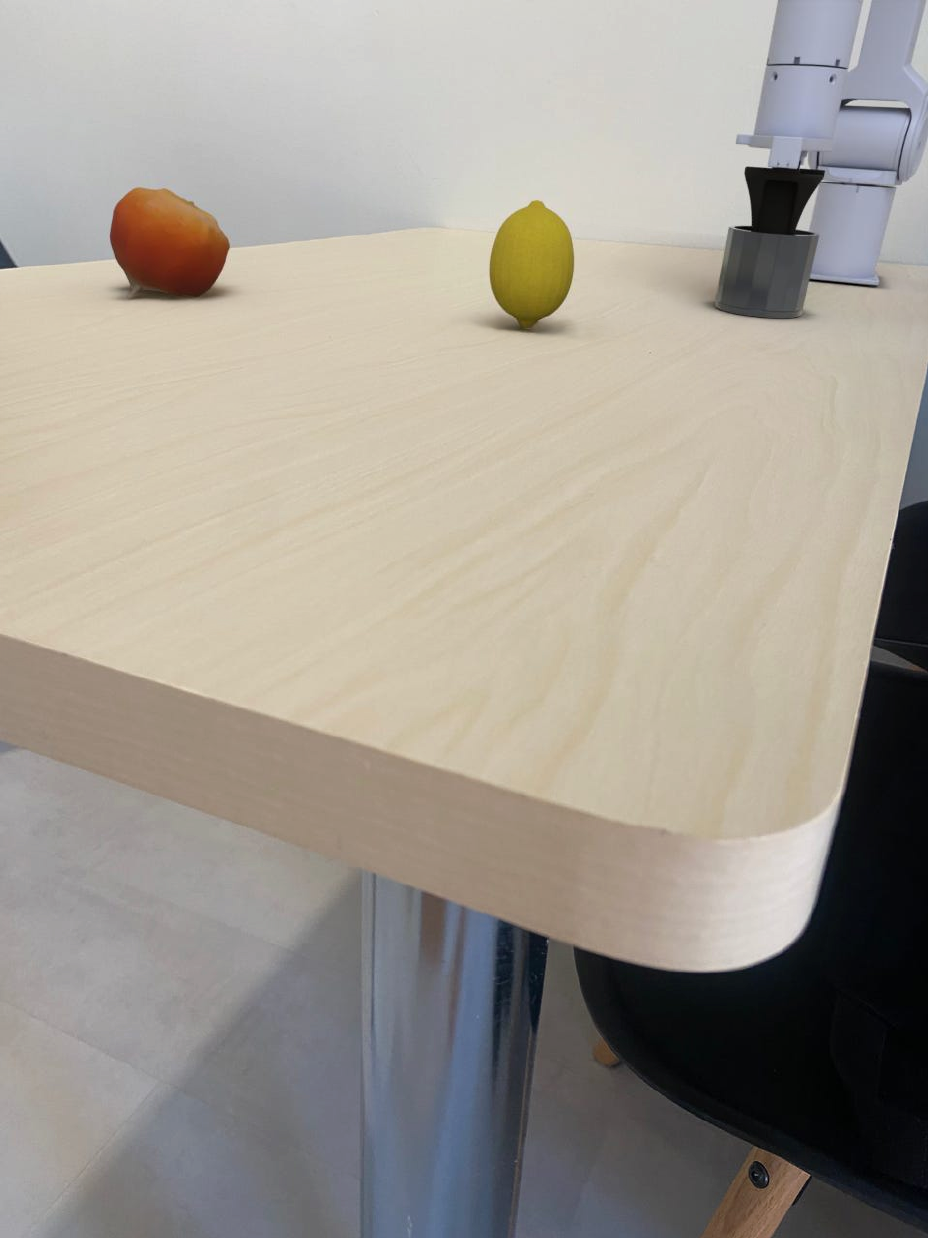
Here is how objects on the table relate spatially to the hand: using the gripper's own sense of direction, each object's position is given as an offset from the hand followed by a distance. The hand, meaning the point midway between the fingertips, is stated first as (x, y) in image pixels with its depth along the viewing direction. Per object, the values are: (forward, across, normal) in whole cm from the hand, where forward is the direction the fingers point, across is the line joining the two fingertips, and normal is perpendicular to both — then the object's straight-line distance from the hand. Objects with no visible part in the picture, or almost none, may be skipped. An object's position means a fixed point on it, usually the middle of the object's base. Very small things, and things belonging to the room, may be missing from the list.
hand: (766, 268), depth 72 cm
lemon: (+3, +19, -14) cm, 24 cm away
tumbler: (+3, 0, 0) cm, 3 cm away
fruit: (+3, +22, -40) cm, 46 cm away
